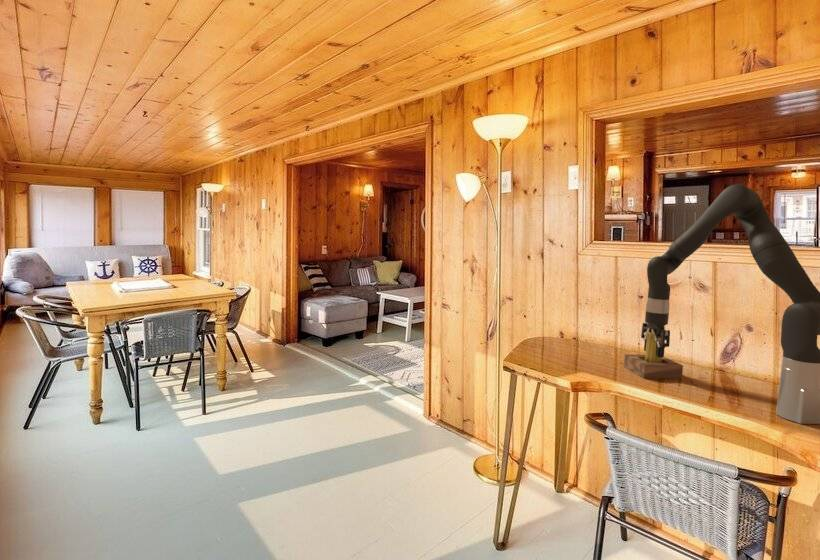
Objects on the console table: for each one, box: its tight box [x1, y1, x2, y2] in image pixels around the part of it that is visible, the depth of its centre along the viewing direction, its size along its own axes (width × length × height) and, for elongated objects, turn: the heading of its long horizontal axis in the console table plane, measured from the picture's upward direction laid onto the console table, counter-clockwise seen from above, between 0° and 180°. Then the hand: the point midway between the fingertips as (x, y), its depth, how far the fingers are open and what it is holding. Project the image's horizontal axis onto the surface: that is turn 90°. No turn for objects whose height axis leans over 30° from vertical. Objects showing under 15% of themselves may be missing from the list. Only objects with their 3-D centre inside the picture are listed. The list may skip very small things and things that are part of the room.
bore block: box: [623, 353, 684, 380], centre depth 174 cm, size 14×14×5 cm
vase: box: [644, 331, 662, 363], centre depth 173 cm, size 6×6×14 cm
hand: (653, 354), depth 174 cm, fingers open, 8 cm apart
